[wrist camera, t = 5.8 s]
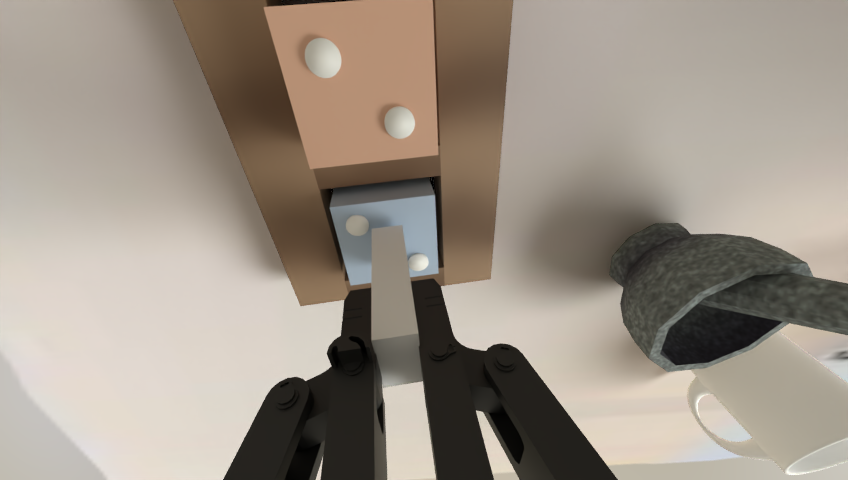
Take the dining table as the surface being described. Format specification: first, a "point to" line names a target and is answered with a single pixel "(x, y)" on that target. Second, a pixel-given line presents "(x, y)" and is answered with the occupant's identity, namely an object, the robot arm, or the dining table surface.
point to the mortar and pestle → (716, 295)
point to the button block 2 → (359, 78)
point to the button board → (310, 188)
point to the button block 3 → (386, 224)
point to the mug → (779, 405)
